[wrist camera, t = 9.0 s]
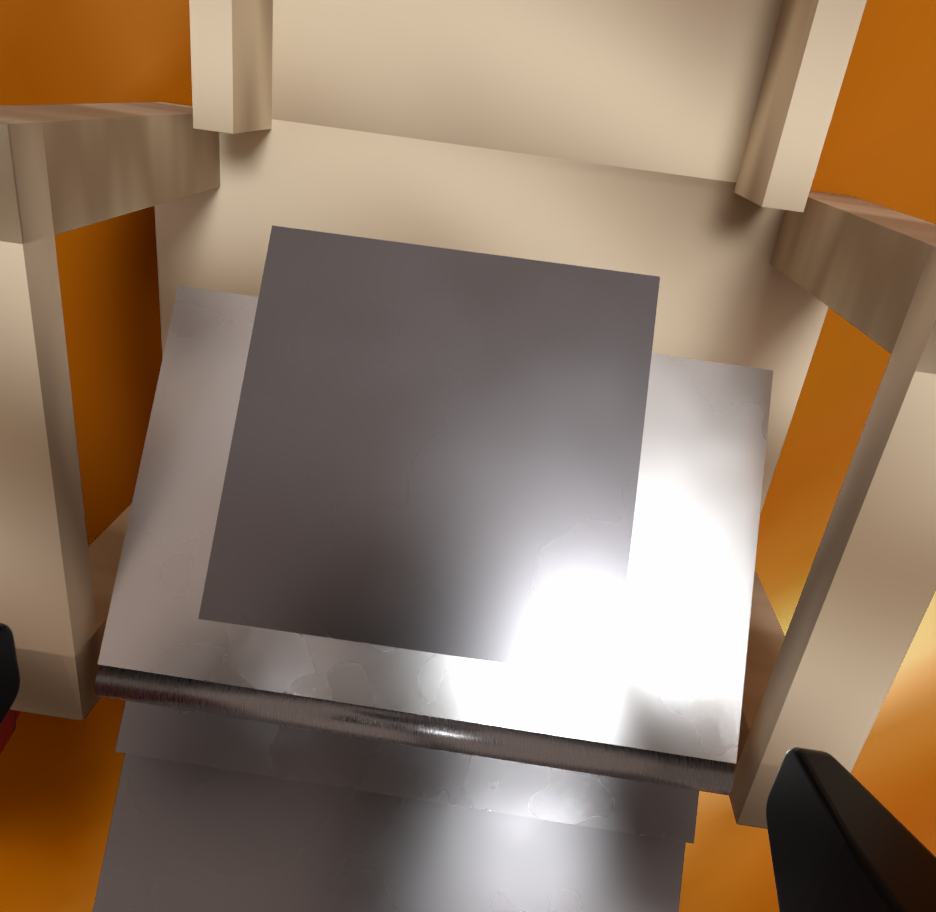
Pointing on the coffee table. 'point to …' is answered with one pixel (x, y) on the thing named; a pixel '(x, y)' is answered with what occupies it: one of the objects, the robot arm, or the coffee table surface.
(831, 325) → the coffee table surface
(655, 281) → the block
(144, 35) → the coffee table surface
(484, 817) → the trapdoor
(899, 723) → the coffee table surface
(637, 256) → the frame
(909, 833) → the robot arm
